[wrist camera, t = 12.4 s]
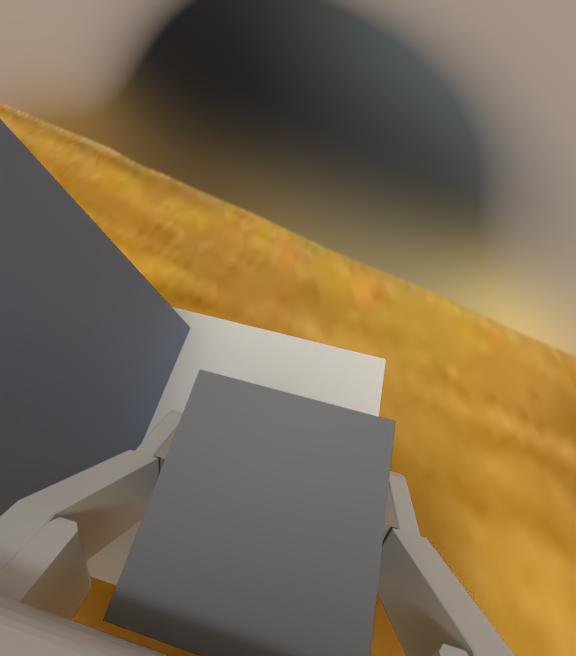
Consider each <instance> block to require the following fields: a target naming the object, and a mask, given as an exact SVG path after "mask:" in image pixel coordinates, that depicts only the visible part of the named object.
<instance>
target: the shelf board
mask: <svg viewBox="0 0 576 656" xmlns="http://www.w3.org/2000/svg"><path fill="white" fill-rule="evenodd" d="M385 362H386V359H383V358H379V357H375V356H370V355H366V354H362V353H358V352H354V351H350V350H346V349H342V348H338V347H334V346H330V345H326V344H322V343H317V342H313V341H309V340H305V339H301V338H297V337H293V336H289V335H285V334H281V333H277V332H273V331H269V330H264V329H260V328H256V327H252V326H248V325H244V324H240V323H236V322H232V321H228V320H224V319H220V318H215V317H211V316H207V315H203V314H199V313H195V312H191V311H187V310H183V309H179V308H175V307H171V306H170V305H169V304H168V302H167V301H166V300H165V299H164V298H163V297H162V296H161V295H160V294H159V293H158V292H157V290H156V289H155V288H154V287H153V286H152V285H151V284H150V283H149V282H148V281H147V279H146V278H145V277H144V276H143V275H142V274H141V273H140V272H139V271H138V270H137V268H136V267H135V266H134V265H133V264H132V263H131V262H130V261H129V260H128V259H127V257H126V256H125V255H124V254H123V253H122V252H121V251H120V250H119V249H118V248H117V247H116V245H115V244H114V243H113V242H112V241H111V240H110V239H109V238H108V237H107V236H106V234H105V233H104V232H103V231H102V230H101V229H100V228H99V227H98V226H97V225H96V223H95V222H94V221H93V220H92V219H91V218H90V217H89V216H88V215H87V214H86V213H85V211H84V210H83V209H82V208H81V207H80V206H79V205H78V204H77V203H76V202H75V200H74V199H73V198H72V197H71V196H70V195H69V194H68V193H67V192H66V191H65V189H64V188H63V187H62V186H61V185H60V184H59V183H58V182H57V181H56V180H55V178H54V177H53V176H52V175H51V174H50V173H49V172H48V171H47V170H46V169H45V168H44V166H43V165H42V164H41V163H40V162H39V161H38V160H37V159H36V158H35V157H34V155H33V154H32V153H31V152H30V151H29V150H28V149H27V148H26V147H25V146H24V144H23V143H22V142H21V141H20V140H19V139H18V138H17V137H16V136H15V135H14V133H13V132H12V131H11V130H10V129H9V128H8V127H7V126H6V125H5V124H4V123H3V121H2V120H1V119H0V516H1V515H3V514H4V513H5V512H6V511H7V510H8V509H9V508H10V507H12V506H13V505H14V504H15V503H16V502H17V501H19V500H21V499H23V498H25V497H27V496H29V495H32V494H34V493H36V492H38V491H40V490H43V489H45V488H47V487H49V486H51V485H53V484H56V483H58V482H60V481H62V480H64V479H67V478H69V477H71V476H73V475H75V474H77V473H80V472H82V471H84V470H86V469H88V468H91V467H93V466H95V465H97V464H99V463H102V462H104V461H106V460H108V459H110V458H112V457H115V456H117V455H119V454H121V453H123V452H126V451H128V450H133V451H135V450H136V449H137V448H138V447H139V445H140V444H141V443H142V442H143V441H144V440H145V439H146V437H147V436H148V435H149V434H150V433H151V432H152V430H153V429H154V428H155V427H156V426H157V425H158V424H159V422H160V421H161V420H162V419H163V418H164V417H165V416H166V414H167V413H169V412H170V411H172V410H175V411H178V412H182V413H183V411H184V409H185V406H186V403H187V401H188V398H189V396H190V393H191V390H192V388H193V385H194V383H195V380H196V377H197V375H198V372H199V370H200V369H201V370H204V371H208V372H212V373H216V374H219V375H223V376H227V377H231V378H235V379H238V380H242V381H246V382H250V383H253V384H257V385H261V386H265V387H269V388H272V389H276V390H280V391H284V392H287V393H291V394H295V395H299V396H303V397H306V398H310V399H314V400H318V401H321V402H325V403H329V404H333V405H336V406H340V407H344V408H348V409H352V410H355V411H359V412H363V413H367V414H370V415H374V416H379V408H380V400H381V393H382V385H383V377H384V369H385ZM141 520H142V519H141ZM141 520H140V521H139V522H137V523H136V524H135V525H133V526H132V527H131V528H129V529H128V530H127V531H125V532H124V533H123V534H121V535H120V536H119V537H118V538H116V539H115V540H114V541H112V542H111V543H110V544H108V545H107V546H106V547H104V548H103V549H102V550H100V551H99V552H98V553H96V554H95V555H94V556H92V557H91V558H90V559H88V560H87V561H86V562H87V567H88V571H89V575H90V577H93V578H96V579H99V580H102V581H104V582H107V583H110V584H113V585H116V586H117V583H118V580H119V578H120V575H121V573H122V570H123V567H124V565H125V562H126V560H127V557H128V554H129V552H130V549H131V547H132V544H133V541H134V539H135V536H136V534H137V531H138V528H139V526H140V523H141Z"/></svg>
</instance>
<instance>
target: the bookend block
mask: <svg viewBox="0 0 576 656" xmlns="http://www.w3.org/2000/svg"><path fill="white" fill-rule="evenodd" d="M394 431H395V421H393V420H389V419H386V418H382V417H378V416H374V415H370V414H367V413H363V412H359V411H355V410H352V409H348V408H344V407H340V406H336V405H333V404H329V403H325V402H321V401H318V400H314V399H310V398H306V397H303V396H299V395H295V394H291V393H287V392H284V391H280V390H276V389H272V388H269V387H265V386H261V385H257V384H253V383H250V382H246V381H242V380H238V379H235V378H231V377H227V376H223V375H219V374H216V373H212V372H208V371H204V370H201V369H200V370H199V372H198V375H197V377H196V380H195V383H194V385H193V388H192V390H191V393H190V396H189V398H188V401H187V403H186V406H185V409H184V411H183V414H182V416H181V419H180V422H179V424H178V427H177V429H176V432H175V435H174V437H173V440H172V442H171V445H170V448H169V450H168V453H167V455H166V458H165V461H164V463H163V466H162V468H161V471H160V474H159V476H158V479H157V481H156V484H155V487H154V489H153V492H152V494H151V497H150V500H149V502H148V505H147V507H146V510H145V513H144V515H143V518H142V520H141V523H140V526H139V528H138V531H137V534H136V536H135V539H134V541H133V544H132V547H131V549H130V552H129V554H128V557H127V560H126V562H125V565H124V567H123V570H122V573H121V575H120V578H119V580H118V583H117V586H116V588H115V591H114V593H113V596H112V599H111V601H110V604H109V606H108V609H107V612H106V614H105V617H104V619H103V621H106V622H109V623H111V624H114V625H117V626H120V627H122V628H125V629H128V630H131V631H133V632H136V633H139V634H142V635H144V636H147V637H150V638H153V639H155V640H158V641H161V642H164V643H166V644H169V645H172V646H175V647H177V648H180V649H183V650H186V651H188V652H191V653H194V654H197V655H199V656H370V655H371V646H372V636H373V627H374V618H375V608H376V599H377V590H378V580H379V571H380V562H381V552H382V543H383V533H384V524H385V515H386V505H387V496H388V487H389V477H390V468H391V459H392V449H393V440H394Z"/></svg>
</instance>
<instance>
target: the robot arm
mask: <svg viewBox="0 0 576 656" xmlns="http://www.w3.org/2000/svg"><path fill="white" fill-rule="evenodd" d="M182 414H183V413H182V412H178V411H175V410H172V411H170V412H169V413H167V414H166V416H165V417H164V418H163V419H162V420H161V421H160V422H159V424H158V425H157V426H156V427H155V428H154V429H153V430H152V432H151V433H150V434H149V435H148V436H147V437H146V439H145V440H144V441H143V442H142V443H141V444H140V445H139V447H138V448H137V449H136V450H135V451H133V450H128V451H126V452H123V453H121V454H119V455H117V456H115V457H112V458H110V459H108V460H106V461H104V462H102V463H99V464H97V465H95V466H93V467H91V468H88V469H86V470H84V471H82V472H80V473H77V474H75V475H73V476H71V477H69V478H67V479H64V480H62V481H60V482H58V483H56V484H53V485H51V486H49V487H47V488H45V489H43V490H40V491H38V492H36V493H34V494H32V495H29V496H27V497H25V498H23V499H21V500H19V501H17V502H16V503H15V504H14V505H13V506H12V507H10V508H9V509H8V510H7V511H6V512H5V513H4V514H3V515H1V516H0V656H168V655H165V654H162V653H159V652H157V651H154V650H151V649H149V648H146V647H143V646H140V645H138V644H135V643H132V642H129V641H127V640H124V639H121V638H118V637H116V636H113V635H110V634H107V633H105V632H102V631H99V630H96V629H94V628H91V627H88V626H86V625H83V624H80V623H77V622H75V621H72V618H73V617H74V615H75V613H76V612H77V610H78V609H79V607H80V606H81V604H82V603H83V601H84V600H85V598H86V597H87V595H88V593H89V592H90V590H91V579H90V575H89V571H88V567H87V562H86V561H87V560H88V559H90V558H91V557H92V556H94V555H95V554H96V553H98V552H99V551H100V550H102V549H103V548H104V547H106V546H107V545H108V544H110V543H111V542H112V541H114V540H115V539H116V538H118V537H119V536H120V535H121V534H123V533H124V532H125V531H127V530H128V529H129V528H131V527H132V526H133V525H135V524H136V523H137V522H139V521H140V520H141V519H142V518H143V515H144V513H145V510H146V507H147V505H148V502H149V500H150V497H151V494H152V492H153V489H154V487H155V484H156V481H157V479H158V476H159V474H160V471H161V468H162V466H163V463H164V461H165V458H166V455H167V453H168V450H169V448H170V445H171V442H172V440H173V437H174V435H175V432H176V429H177V427H178V424H179V422H180V419H181V416H182ZM377 593H378V595H379V597H380V599H381V601H382V604H383V606H384V608H385V610H386V613H387V615H388V617H389V619H390V621H391V624H392V626H393V628H394V630H395V632H396V635H397V637H398V639H399V641H400V644H401V646H402V648H403V650H404V652H405V655H406V656H515V655H514V653H513V652H512V651H511V649H510V648H509V647H508V645H507V644H506V643H505V641H504V640H503V639H502V638H501V636H500V635H499V634H498V632H497V631H496V630H495V628H494V627H493V626H492V624H491V623H490V622H489V620H488V619H487V618H486V616H485V615H484V614H483V612H482V611H481V610H480V608H479V607H478V606H477V604H476V603H475V602H474V600H473V599H472V598H471V596H470V595H469V594H468V592H467V591H466V590H465V588H464V587H463V586H462V584H461V583H460V582H459V580H458V579H457V578H456V576H455V575H454V574H453V572H452V571H451V570H450V568H449V567H448V566H447V564H446V563H445V562H444V560H443V559H442V558H441V556H440V555H439V554H438V552H437V551H436V550H435V548H434V547H433V546H432V545H431V543H430V542H429V541H428V539H427V538H424V537H421V535H420V531H419V527H418V523H417V520H416V516H415V512H414V508H413V504H412V501H411V497H410V493H409V489H408V485H407V482H406V478H405V477H404V475H403V474H399V473H395V472H392V471H390V477H389V487H388V496H387V505H386V515H385V524H384V533H383V543H382V552H381V562H380V571H379V580H378V590H377Z"/></svg>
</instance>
